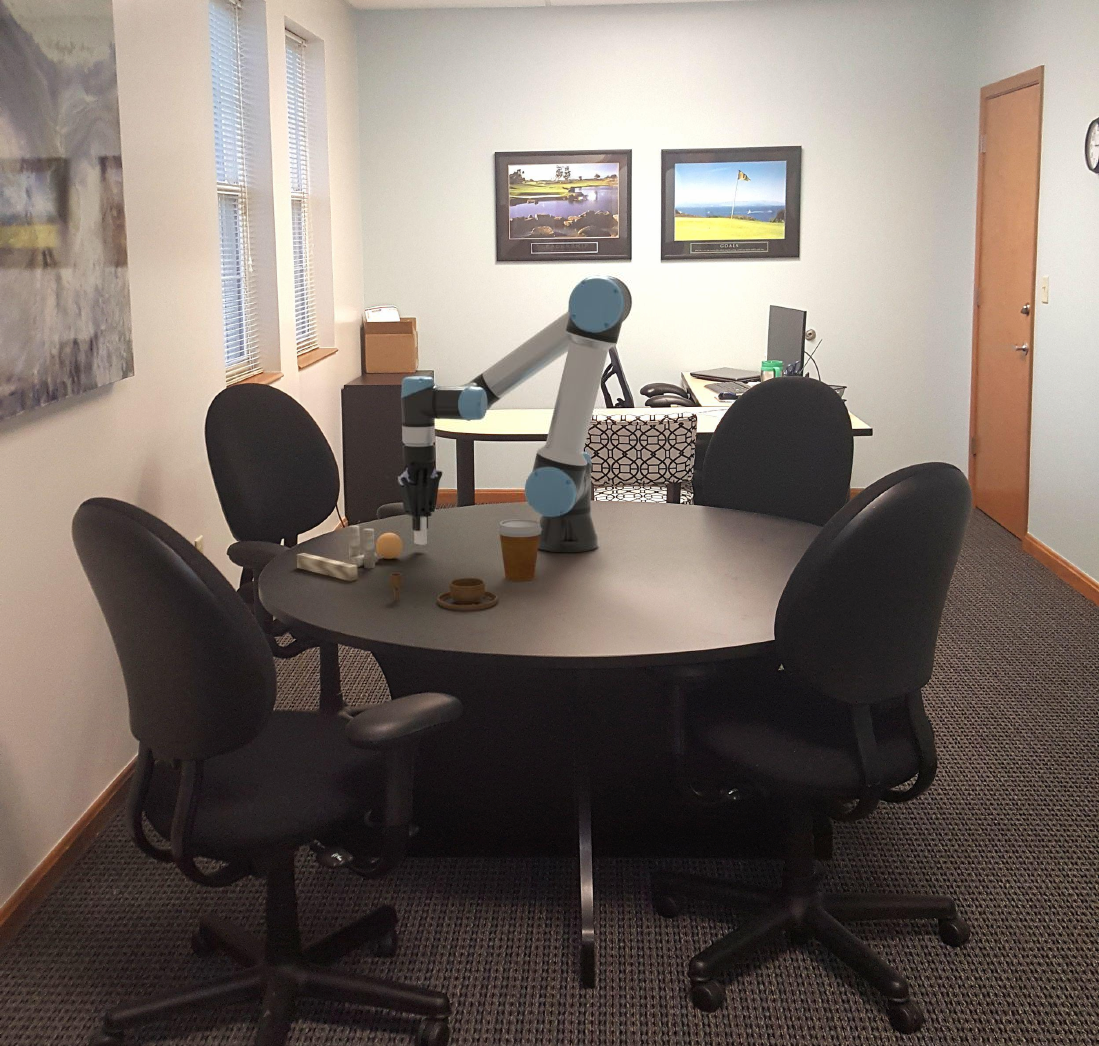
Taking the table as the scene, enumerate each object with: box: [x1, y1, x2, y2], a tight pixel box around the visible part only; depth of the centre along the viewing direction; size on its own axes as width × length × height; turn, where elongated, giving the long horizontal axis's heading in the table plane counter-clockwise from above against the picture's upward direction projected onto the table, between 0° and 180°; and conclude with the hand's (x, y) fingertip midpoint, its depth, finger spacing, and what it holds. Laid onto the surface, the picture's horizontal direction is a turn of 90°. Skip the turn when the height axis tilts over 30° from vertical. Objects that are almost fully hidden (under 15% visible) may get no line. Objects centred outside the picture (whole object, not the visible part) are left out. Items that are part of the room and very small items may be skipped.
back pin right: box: [347, 524, 361, 558], centre depth 266 cm, size 2×2×8 cm
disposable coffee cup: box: [497, 518, 542, 582], centre depth 254 cm, size 10×10×12 cm
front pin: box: [341, 552, 379, 568], centre depth 265 cm, size 2×2×8 cm
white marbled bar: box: [296, 552, 358, 582], centre depth 258 cm, size 18×2×3 cm, turn 49°
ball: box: [375, 532, 403, 560], centre depth 271 cm, size 6×6×6 cm
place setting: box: [389, 572, 499, 611], centre depth 238 cm, size 18×20×6 cm
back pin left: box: [362, 528, 376, 569], centre depth 263 cm, size 2×2×8 cm
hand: (420, 543), depth 279 cm, fingers closed
